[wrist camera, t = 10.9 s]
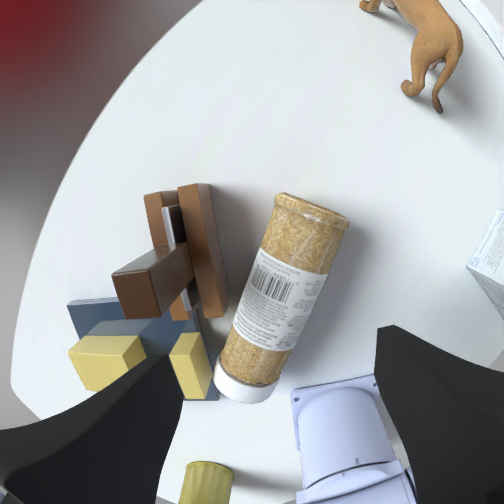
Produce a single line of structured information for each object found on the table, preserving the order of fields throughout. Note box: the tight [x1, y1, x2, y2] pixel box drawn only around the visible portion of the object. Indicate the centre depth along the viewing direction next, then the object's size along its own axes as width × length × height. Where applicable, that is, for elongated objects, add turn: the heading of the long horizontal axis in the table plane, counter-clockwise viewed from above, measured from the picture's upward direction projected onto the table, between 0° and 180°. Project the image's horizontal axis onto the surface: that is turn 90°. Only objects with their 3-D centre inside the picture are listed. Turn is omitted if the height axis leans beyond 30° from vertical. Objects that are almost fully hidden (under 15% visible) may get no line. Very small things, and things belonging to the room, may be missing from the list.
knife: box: [112, 204, 200, 320], centre depth 14 cm, size 6×2×9 cm, turn 9°
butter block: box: [67, 336, 147, 392], centre depth 19 cm, size 4×6×3 cm, turn 99°
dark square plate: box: [67, 297, 220, 401], centre depth 20 cm, size 10×12×1 cm
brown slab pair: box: [144, 183, 230, 321], centre depth 17 cm, size 8×3×3 cm, turn 9°
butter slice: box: [169, 332, 213, 399], centre depth 18 cm, size 4×2×3 cm, turn 9°
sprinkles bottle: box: [213, 193, 349, 404], centre depth 17 cm, size 5×5×14 cm
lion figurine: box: [359, 0, 463, 114], centre depth 9 cm, size 15×5×9 cm, turn 25°
